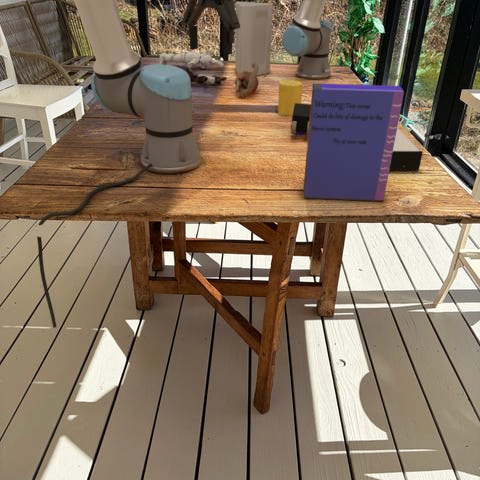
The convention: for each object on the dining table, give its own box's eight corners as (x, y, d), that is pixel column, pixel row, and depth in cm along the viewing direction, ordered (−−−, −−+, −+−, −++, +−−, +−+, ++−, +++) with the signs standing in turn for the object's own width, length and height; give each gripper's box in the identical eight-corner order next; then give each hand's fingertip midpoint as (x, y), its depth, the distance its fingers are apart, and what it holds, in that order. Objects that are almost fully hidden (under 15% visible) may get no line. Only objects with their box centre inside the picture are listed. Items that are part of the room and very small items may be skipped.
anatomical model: (248, 99, 191) (242, 101, 177) (232, 84, 190) (225, 85, 176) (269, 75, 187) (265, 74, 173) (253, 59, 186) (248, 57, 172)
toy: (179, 76, 209) (178, 59, 205) (154, 65, 226) (153, 50, 223) (226, 70, 221) (226, 54, 217) (199, 60, 238) (198, 45, 235)
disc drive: (349, 170, 120) (352, 151, 117) (332, 140, 139) (334, 123, 137) (418, 171, 120) (423, 152, 118) (392, 140, 140) (395, 124, 137)
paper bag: (273, 76, 210) (276, 6, 196) (239, 77, 209) (240, 6, 194) (266, 67, 226) (268, 2, 212) (235, 67, 225) (235, 1, 210)
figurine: (149, 84, 182) (227, 91, 186) (149, 62, 179) (229, 70, 183) (154, 81, 204) (223, 88, 208) (154, 62, 201) (225, 69, 205)
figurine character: (312, 146, 139) (312, 125, 151) (314, 121, 134) (315, 101, 146) (289, 145, 139) (291, 123, 151) (290, 120, 135) (293, 100, 147)
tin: (287, 107, 169) (288, 79, 164) (304, 112, 164) (307, 82, 159) (273, 112, 164) (274, 82, 159) (291, 116, 159) (293, 86, 154)
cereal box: (379, 191, 109) (398, 84, 97) (383, 201, 105) (404, 90, 93) (303, 188, 110) (312, 82, 98) (304, 197, 106) (314, 88, 94)
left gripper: (253, -28, 130) (251, 55, 140) (186, -31, 143) (188, 45, 153) (237, -28, 125) (235, 58, 135) (168, -31, 137) (172, 48, 148)
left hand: (210, 51), depth 144 cm, fingers open, 13 cm apart
